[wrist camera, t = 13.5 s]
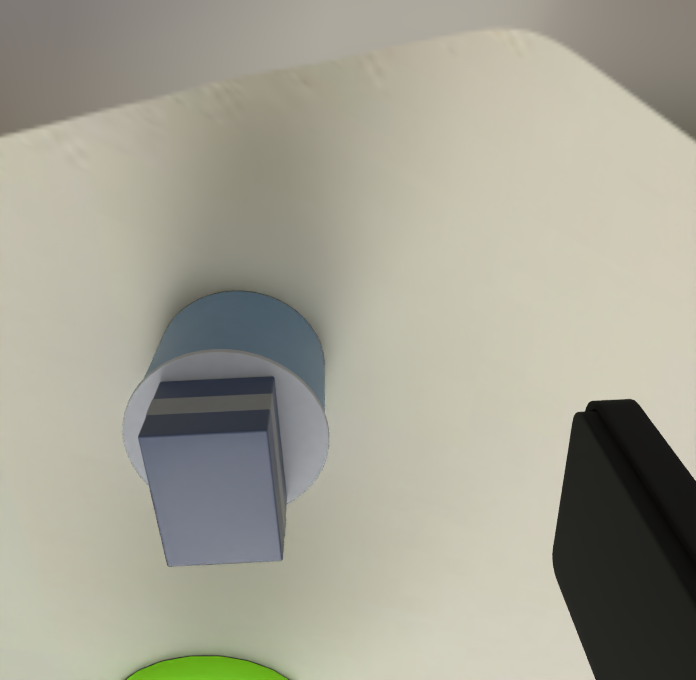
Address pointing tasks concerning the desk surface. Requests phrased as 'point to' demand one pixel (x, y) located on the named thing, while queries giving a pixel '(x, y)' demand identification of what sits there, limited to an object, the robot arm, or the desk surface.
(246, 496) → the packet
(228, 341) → the yogurt
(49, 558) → the desk surface
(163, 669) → the wineglass
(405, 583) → the desk surface
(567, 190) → the desk surface
